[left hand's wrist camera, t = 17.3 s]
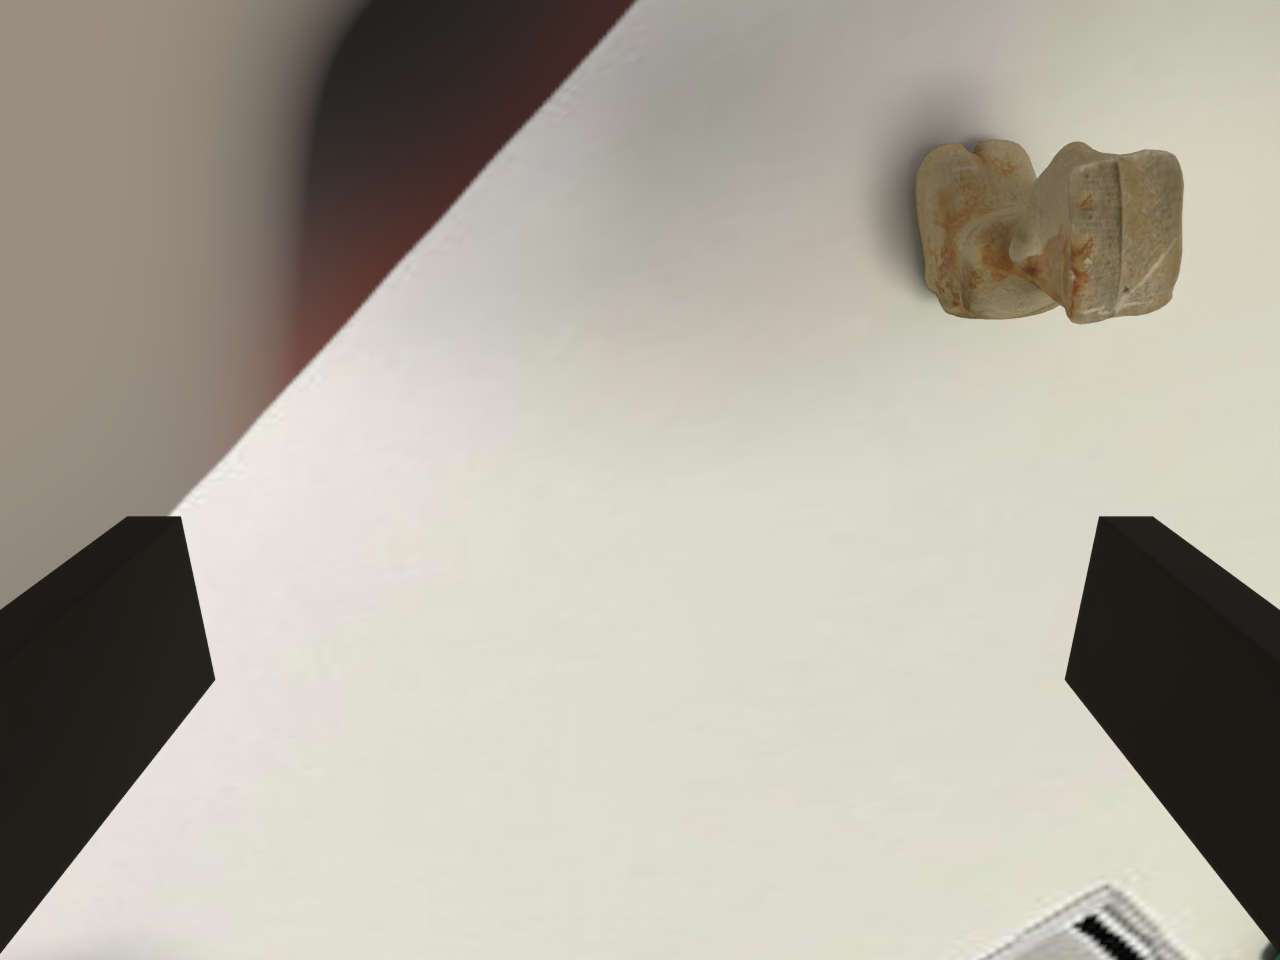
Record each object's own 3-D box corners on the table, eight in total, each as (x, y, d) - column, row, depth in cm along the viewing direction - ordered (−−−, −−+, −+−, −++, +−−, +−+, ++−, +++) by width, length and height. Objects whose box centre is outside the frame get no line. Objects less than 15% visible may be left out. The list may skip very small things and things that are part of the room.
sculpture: (1029, 134, 39) (1249, 132, 25) (1017, 297, 41) (1209, 378, 27) (897, 145, 39) (1042, 150, 25) (893, 307, 41) (1022, 392, 27)
